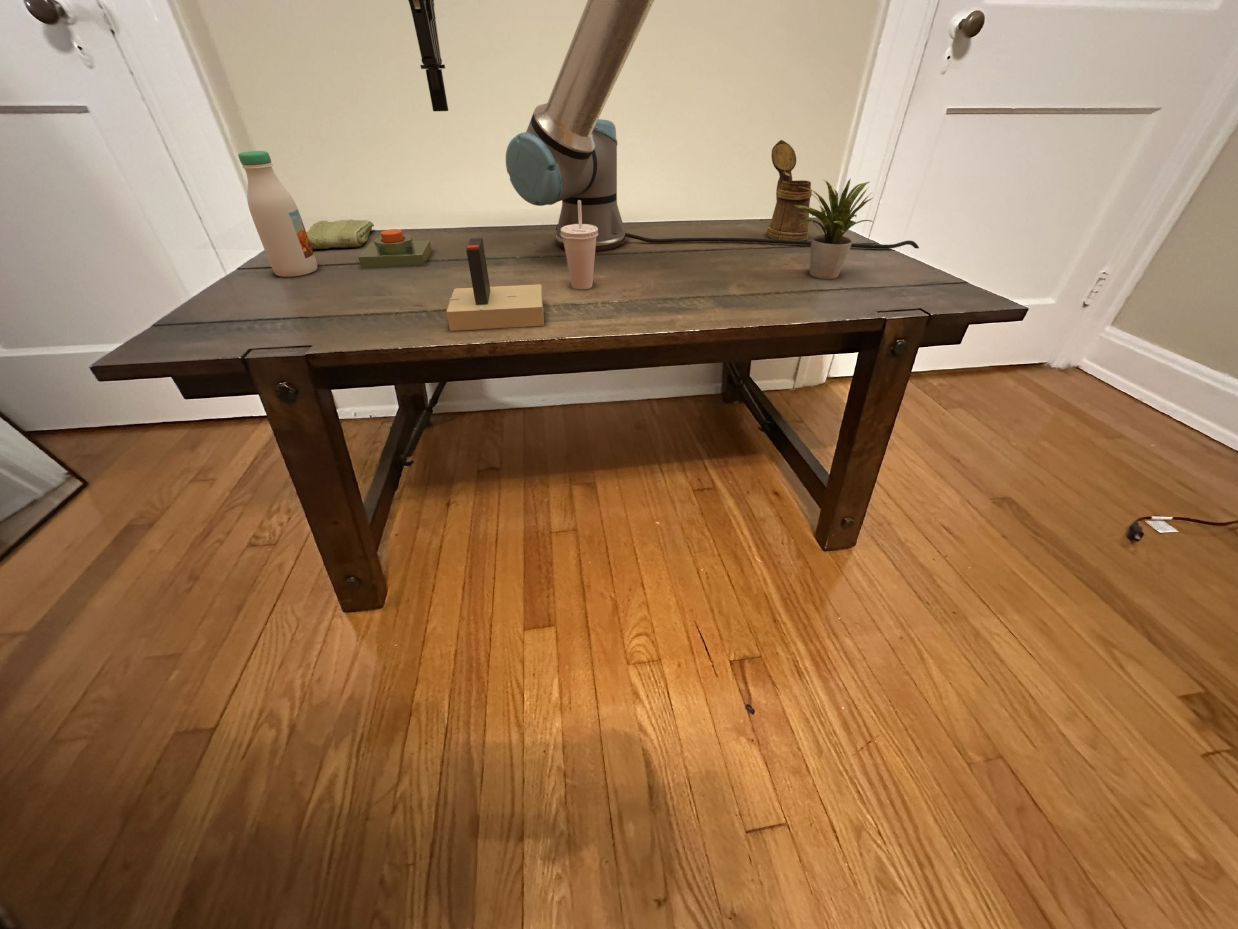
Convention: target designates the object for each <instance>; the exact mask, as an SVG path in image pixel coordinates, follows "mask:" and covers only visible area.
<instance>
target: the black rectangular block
mask: <svg viewBox="0 0 1238 929" xmlns="http://www.w3.org/2000/svg"><path fill="white" fill-rule="evenodd" d="M484 246H485V245H484V239H483V237H474V238H473V237H471V238H469V241H468V244H467V246H466V251H465V252H466V256H467V262H468V268H469V274H470V280H471V285H472V288H473V292H474V297H475V303H476V305H482V304H488V301H489V295H490V287H491V285H490V279H489V272H488V266H487V258H486V252H485V247H484Z"/></svg>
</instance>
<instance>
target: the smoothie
mask: <svg viewBox="0 0 1238 929" xmlns="http://www.w3.org/2000/svg"><path fill="white" fill-rule="evenodd" d="M578 220H579V224H572V225H567V226H564V227H562V228H561V236H562V237H563V241H564V247H565V248H564V253H565V257H566V263H567V269H568V273H569V274H568V275H569V279H570V284H571V288H572V289H575V290H588V289H591V288H592V287H593V280H594V270H595V269H594V268H595V259H596V258H595V257H596V251H595V247H596V236H598V228H597V227H596V226H593V225H589V224H582V212H581V201H580V200H579V201H578Z"/></svg>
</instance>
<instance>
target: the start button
mask: <svg viewBox="0 0 1238 929" xmlns="http://www.w3.org/2000/svg"><path fill="white" fill-rule="evenodd" d="M403 235H404V233H403V230H402V229H400V228H399V229H396V228H392V229H385V230H382V231H380V237H382V240H383V242H397V241H402V240H404V237H403Z"/></svg>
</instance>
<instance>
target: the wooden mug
mask: <svg viewBox="0 0 1238 929" xmlns="http://www.w3.org/2000/svg"><path fill="white" fill-rule="evenodd" d="M771 162H772V165H773V168H774V169H775V170H776V171H777V172H778V175H779V177H778V180H777V184H776V190H775V191H776V192H775V195H776V196H775V198H776V200H775V202H776V203H775V206H774V210H773V213H772V217H771V221H770V223H769V225H768V226H767V229H766V235H767V237H768V239H779V240H798V241H808V239H809V238H810V230H809V223H810V222H807V223H804V224H801V222H800V221H802V220H805V219H810V218H809V217H810V213H808V212H807V211H805V210H804V209H801V208H798V207H796V206H794V205H800V206H806V207H811V206H810V205H811V204H810V203H811V198H812V196H813V195H812V194H813V191H811V190H813V189H812V181H810V180H803V179H802V180H793V175H792V174H793V173H792V171H793V170H794V169H795V167H796V166H797V155H796V153H795V150H794V148H793V147H792V146H791V144H789V143H788V142H786V141H785V140H783V139H780V140H779V141H777V143H775V145H774V146H773V147H772V149H771ZM798 186H799V187H798ZM802 187H804V188H802ZM805 188H808V189H811V190H808V189H805ZM809 193H811V194H809ZM802 213H804V214H802ZM805 214H806V215H805ZM807 215H808V216H809V217H808V216H807ZM802 222H803V221H802ZM800 224H801V225H800ZM798 226H799V227H798Z"/></svg>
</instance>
